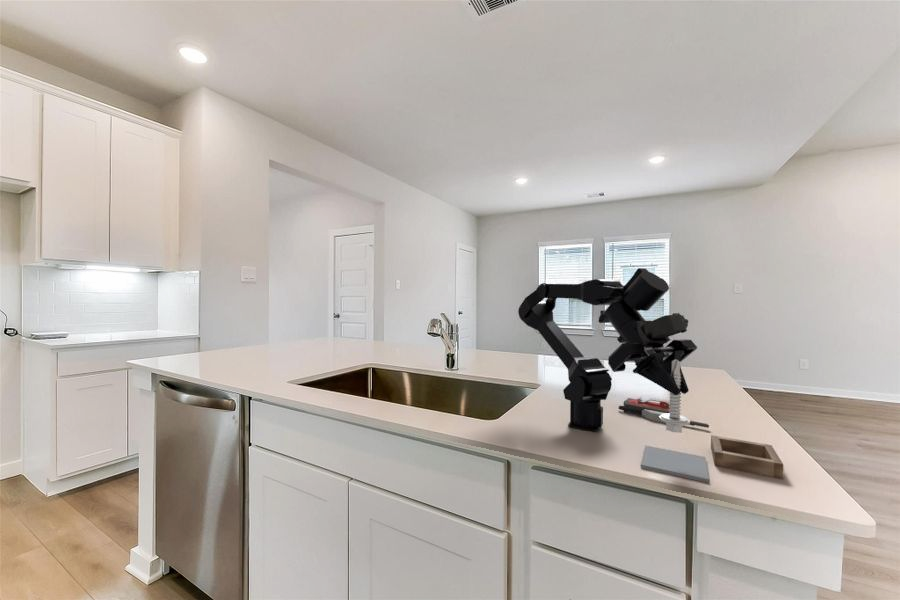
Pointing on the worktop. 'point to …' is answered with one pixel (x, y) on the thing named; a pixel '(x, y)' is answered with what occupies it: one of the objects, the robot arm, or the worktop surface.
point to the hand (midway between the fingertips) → (682, 393)
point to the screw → (675, 404)
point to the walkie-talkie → (651, 409)
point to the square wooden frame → (746, 456)
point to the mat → (675, 463)
